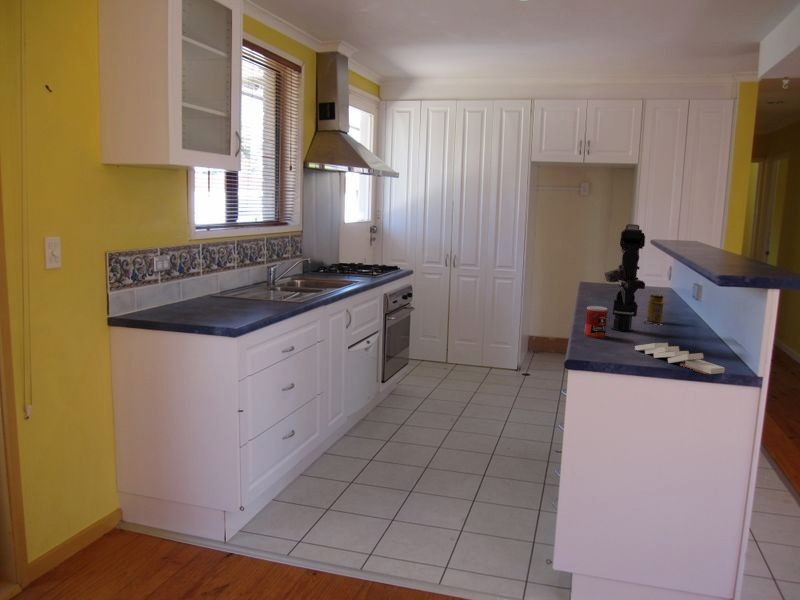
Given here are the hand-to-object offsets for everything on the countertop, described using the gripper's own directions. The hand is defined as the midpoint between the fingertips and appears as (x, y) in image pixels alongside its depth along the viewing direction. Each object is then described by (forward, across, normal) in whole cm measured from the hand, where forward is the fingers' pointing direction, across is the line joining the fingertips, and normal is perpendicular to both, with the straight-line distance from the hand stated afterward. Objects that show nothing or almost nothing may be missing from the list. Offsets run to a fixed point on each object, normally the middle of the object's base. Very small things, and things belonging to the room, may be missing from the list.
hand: (625, 304), depth 248 cm
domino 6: (+12, +40, +8) cm, 43 cm away
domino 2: (+12, +23, +2) cm, 26 cm away
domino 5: (+13, +38, +7) cm, 41 cm away
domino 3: (+12, +28, +3) cm, 31 cm away
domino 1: (+12, +19, 0) cm, 22 cm away
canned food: (+13, -2, -10) cm, 17 cm away
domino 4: (+12, +35, +5) cm, 37 cm away
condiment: (+13, -36, +26) cm, 46 cm away
